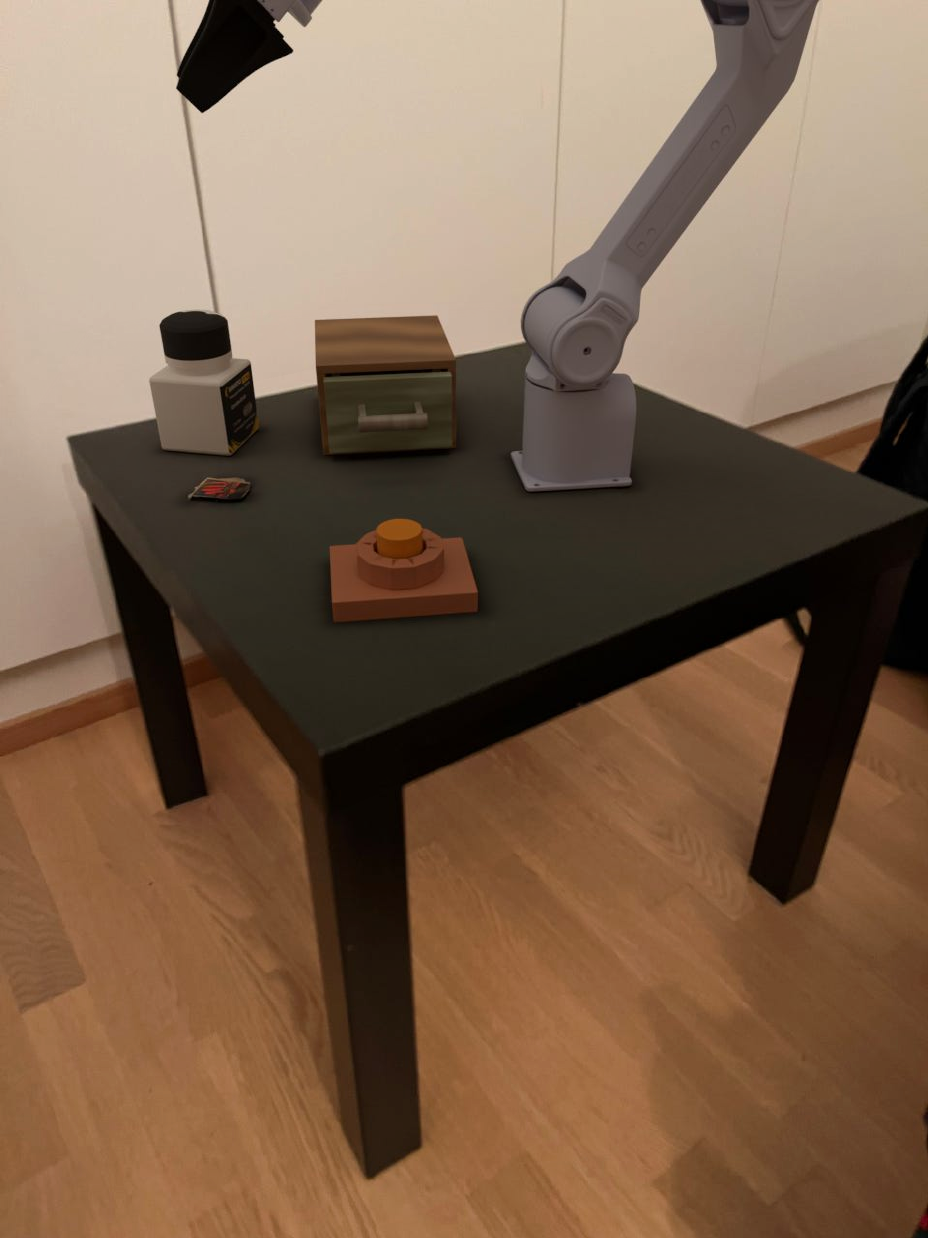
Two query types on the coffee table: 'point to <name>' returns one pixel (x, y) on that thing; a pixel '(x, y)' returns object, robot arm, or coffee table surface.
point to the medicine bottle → (202, 387)
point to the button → (399, 539)
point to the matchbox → (221, 488)
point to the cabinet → (381, 354)
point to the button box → (401, 580)
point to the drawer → (388, 410)
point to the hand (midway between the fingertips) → (188, 93)
